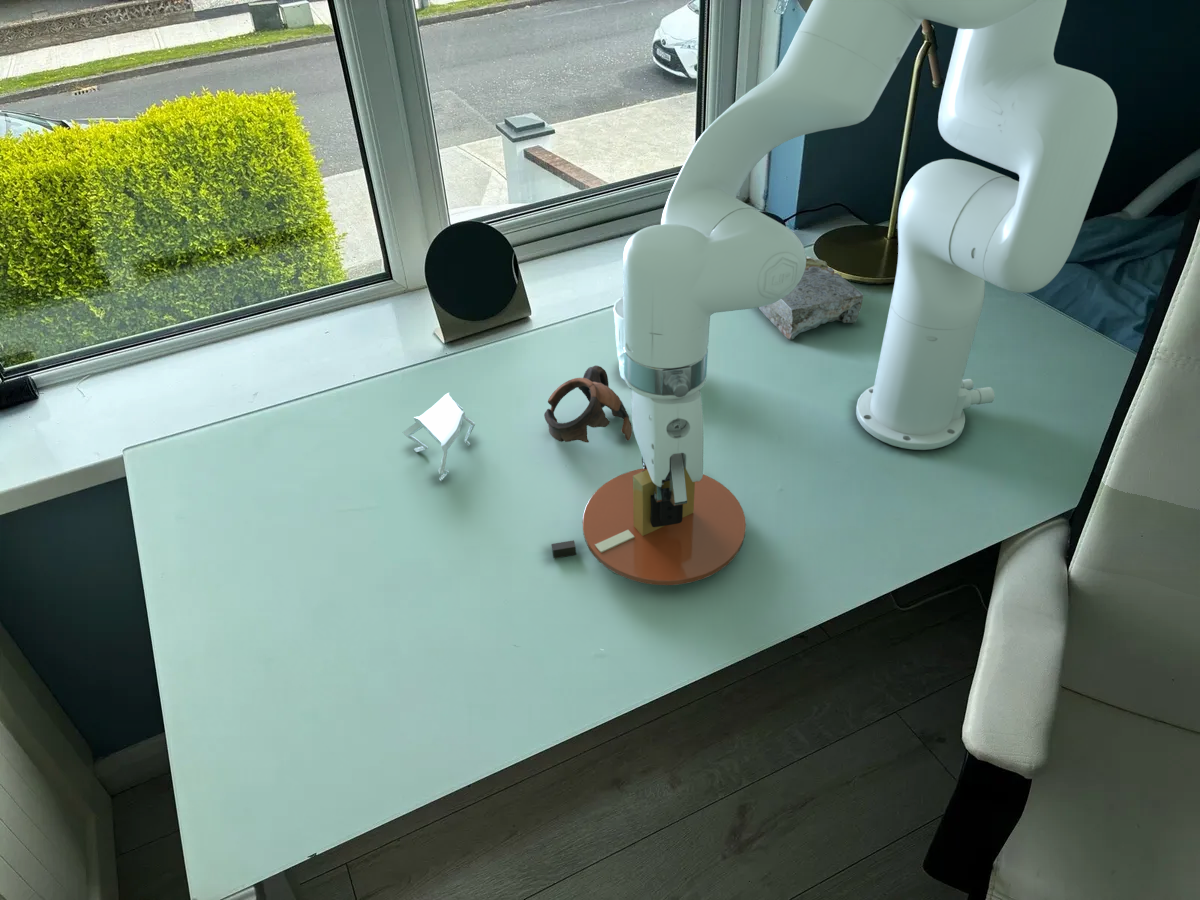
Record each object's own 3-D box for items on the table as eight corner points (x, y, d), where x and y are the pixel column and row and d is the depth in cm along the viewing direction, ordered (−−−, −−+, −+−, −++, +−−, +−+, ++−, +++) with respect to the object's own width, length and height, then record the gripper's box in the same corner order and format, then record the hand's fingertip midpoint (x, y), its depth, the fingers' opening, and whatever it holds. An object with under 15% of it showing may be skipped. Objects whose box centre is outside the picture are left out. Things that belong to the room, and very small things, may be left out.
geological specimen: (796, 313, 119) (743, 259, 130) (792, 350, 124) (740, 295, 134) (866, 294, 122) (808, 242, 132) (859, 331, 126) (804, 278, 137)
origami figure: (401, 434, 111) (394, 402, 107) (467, 418, 113) (462, 386, 109) (420, 495, 102) (413, 462, 99) (491, 477, 104) (487, 444, 101)
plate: (779, 541, 92) (787, 486, 87) (639, 611, 85) (638, 555, 81) (683, 452, 103) (685, 398, 98) (553, 507, 97) (548, 452, 92)
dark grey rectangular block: (696, 498, 100) (696, 487, 99) (722, 563, 92) (723, 552, 91) (545, 522, 98) (544, 511, 97) (560, 590, 90) (559, 579, 89)
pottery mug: (636, 459, 106) (601, 421, 100) (568, 478, 110) (531, 442, 105) (640, 380, 113) (607, 341, 107) (576, 401, 117) (541, 363, 111)
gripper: (733, 410, 76) (720, 561, 87) (680, 312, 88) (675, 456, 100) (647, 422, 74) (645, 574, 86) (605, 321, 87) (609, 466, 99)
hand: (661, 509), depth 93 cm, fingers closed on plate, 3 cm apart
